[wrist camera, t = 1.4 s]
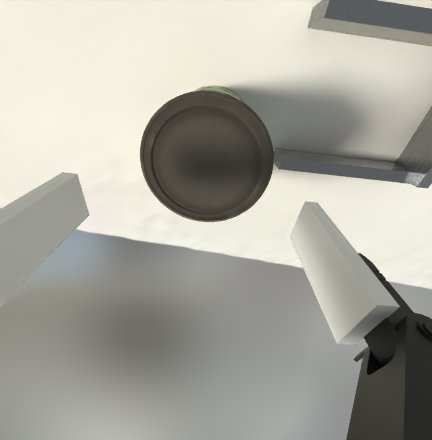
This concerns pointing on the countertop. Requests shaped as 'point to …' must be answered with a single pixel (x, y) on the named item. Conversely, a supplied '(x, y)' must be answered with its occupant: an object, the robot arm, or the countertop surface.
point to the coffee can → (207, 155)
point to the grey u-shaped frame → (385, 29)
